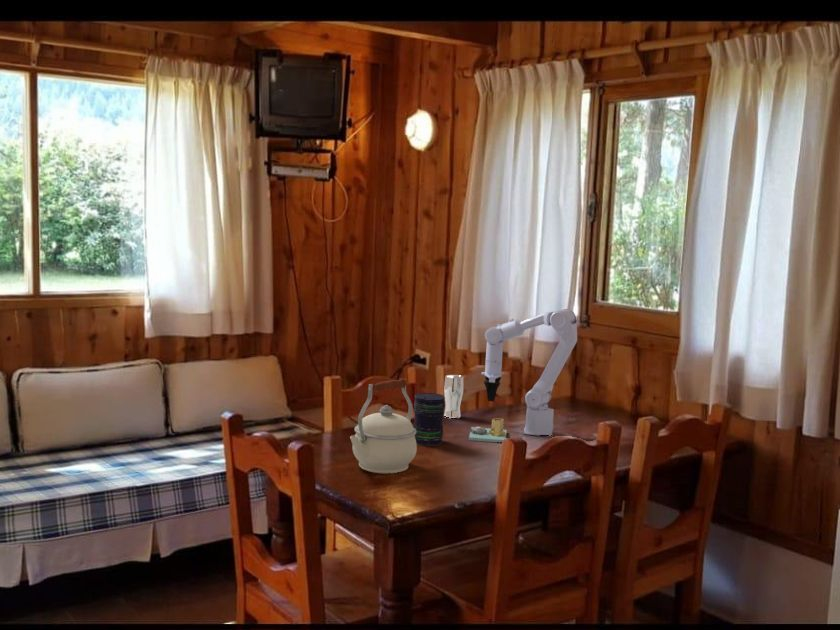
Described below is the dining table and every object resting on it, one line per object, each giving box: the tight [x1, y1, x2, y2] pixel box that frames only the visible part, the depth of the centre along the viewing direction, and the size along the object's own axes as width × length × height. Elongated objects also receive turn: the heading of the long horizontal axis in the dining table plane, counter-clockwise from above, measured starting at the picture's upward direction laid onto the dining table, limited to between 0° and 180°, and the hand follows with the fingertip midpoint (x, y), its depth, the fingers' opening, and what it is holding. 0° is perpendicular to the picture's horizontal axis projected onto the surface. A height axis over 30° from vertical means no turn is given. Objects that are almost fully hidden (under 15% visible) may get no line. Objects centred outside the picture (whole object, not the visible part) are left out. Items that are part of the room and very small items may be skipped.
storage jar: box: [412, 392, 446, 447], centre depth 265 cm, size 10×10×15 cm
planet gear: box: [489, 417, 505, 436], centre depth 275 cm, size 5×5×5 cm
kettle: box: [349, 377, 418, 475], centre depth 234 cm, size 25×18×25 cm
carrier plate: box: [468, 426, 507, 443], centre depth 276 cm, size 12×14×4 cm
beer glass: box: [443, 374, 464, 419], centre depth 301 cm, size 7×7×15 cm
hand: (491, 398), depth 291 cm, fingers open, 7 cm apart
